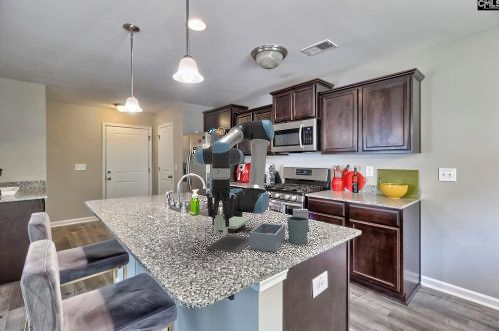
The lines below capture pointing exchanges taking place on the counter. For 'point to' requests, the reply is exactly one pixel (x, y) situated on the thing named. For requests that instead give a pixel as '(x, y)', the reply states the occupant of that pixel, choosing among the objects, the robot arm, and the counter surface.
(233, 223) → the lid
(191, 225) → the counter surface
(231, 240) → the mat
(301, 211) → the ink box
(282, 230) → the tub
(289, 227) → the teal cup
